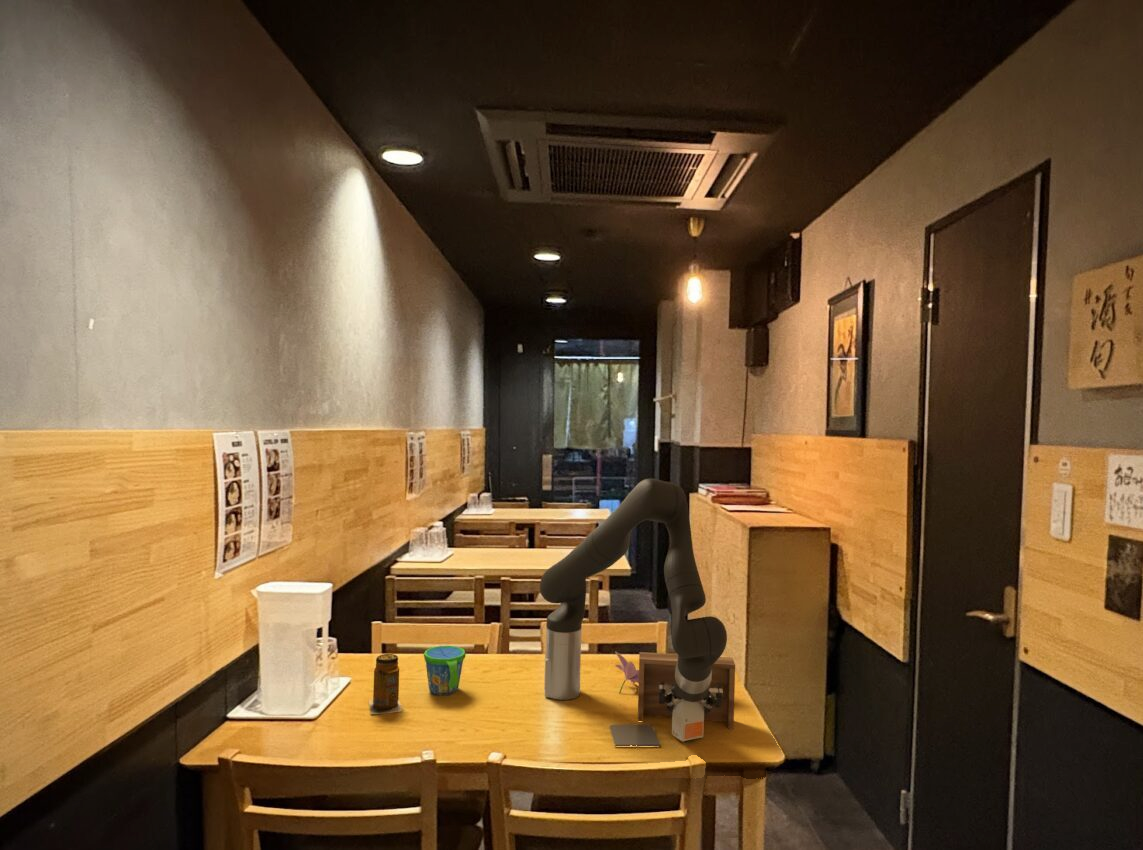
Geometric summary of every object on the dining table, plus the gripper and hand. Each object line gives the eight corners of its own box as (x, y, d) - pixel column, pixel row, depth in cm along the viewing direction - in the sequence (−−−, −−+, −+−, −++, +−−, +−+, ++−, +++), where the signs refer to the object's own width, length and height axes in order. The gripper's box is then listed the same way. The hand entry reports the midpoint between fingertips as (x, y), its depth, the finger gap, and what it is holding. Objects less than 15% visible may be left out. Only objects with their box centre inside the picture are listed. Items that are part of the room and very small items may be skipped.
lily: (651, 705, 173) (662, 668, 177) (610, 688, 172) (622, 651, 175) (635, 702, 184) (646, 667, 188) (596, 686, 183) (608, 651, 186)
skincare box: (682, 742, 149) (684, 688, 149) (671, 734, 152) (672, 681, 152) (704, 737, 151) (705, 684, 151) (692, 730, 155) (694, 677, 155)
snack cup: (471, 699, 171) (472, 659, 171) (429, 705, 167) (430, 664, 167) (456, 677, 186) (457, 640, 186) (418, 682, 181) (419, 644, 181)
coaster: (615, 747, 147) (615, 744, 147) (609, 727, 157) (609, 724, 157) (660, 747, 148) (660, 744, 148) (651, 726, 158) (651, 724, 158)
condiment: (398, 698, 171) (400, 651, 171) (402, 712, 163) (403, 662, 163) (368, 701, 168) (370, 653, 168) (371, 715, 160) (372, 665, 160)
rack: (733, 728, 158) (735, 664, 158) (637, 721, 160) (639, 658, 160) (730, 719, 163) (732, 657, 163) (637, 713, 165) (639, 652, 165)
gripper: (726, 661, 144) (718, 694, 155) (658, 657, 145) (656, 690, 157) (728, 695, 139) (720, 727, 150) (658, 691, 140) (656, 723, 151)
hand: (687, 708), depth 153 cm, fingers closed on skincare box, 7 cm apart
